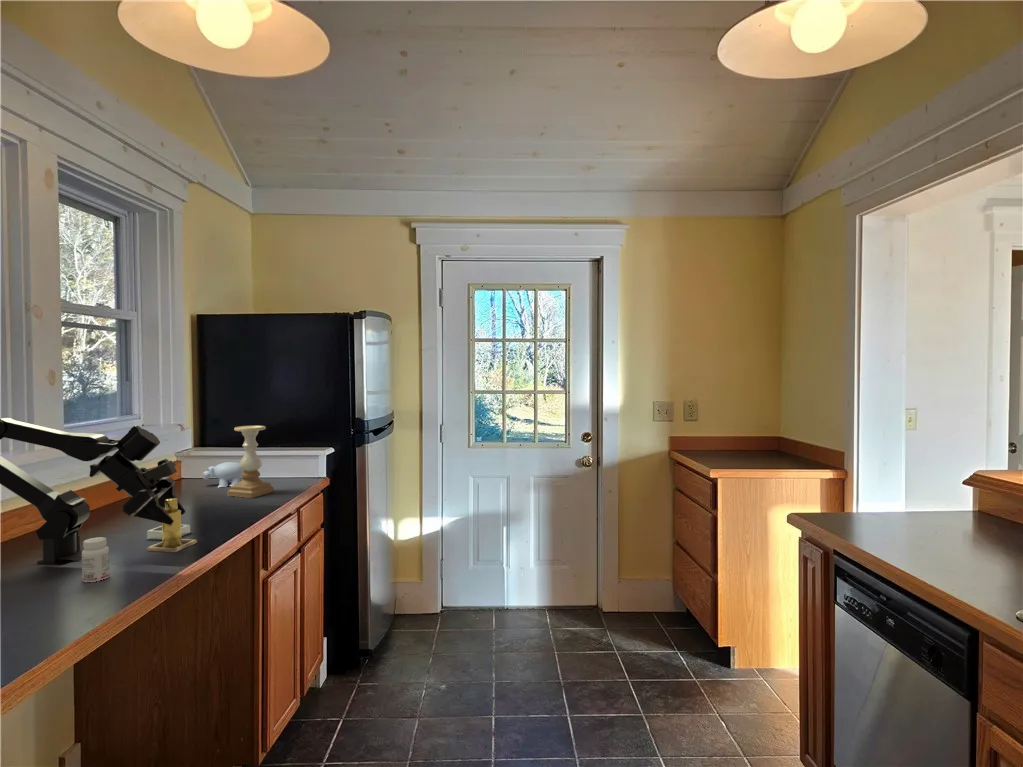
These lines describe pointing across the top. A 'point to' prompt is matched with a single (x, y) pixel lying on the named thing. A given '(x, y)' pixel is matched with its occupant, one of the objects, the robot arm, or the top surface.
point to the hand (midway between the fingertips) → (178, 518)
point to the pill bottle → (95, 560)
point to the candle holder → (250, 467)
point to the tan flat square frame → (158, 548)
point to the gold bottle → (172, 525)
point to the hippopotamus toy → (225, 473)
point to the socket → (157, 532)
